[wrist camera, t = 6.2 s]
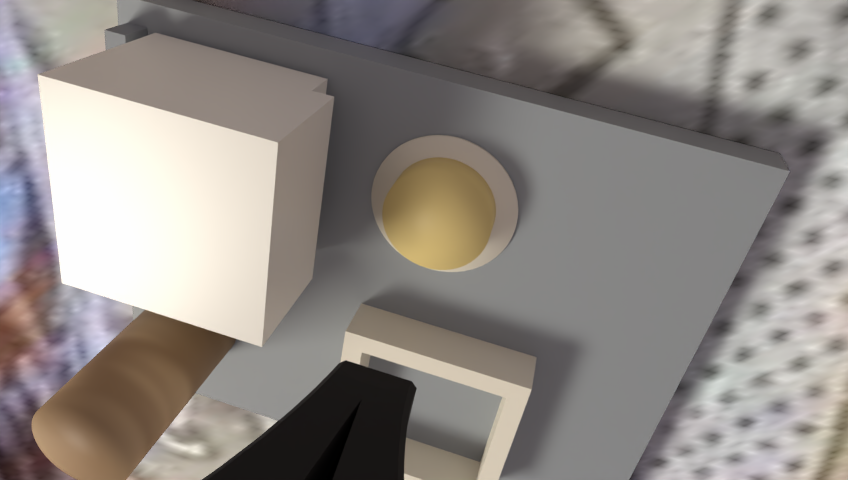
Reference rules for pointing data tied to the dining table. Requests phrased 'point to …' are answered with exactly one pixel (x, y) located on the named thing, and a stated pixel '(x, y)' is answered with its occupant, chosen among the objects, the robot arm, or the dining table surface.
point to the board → (492, 255)
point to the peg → (126, 397)
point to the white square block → (187, 180)
